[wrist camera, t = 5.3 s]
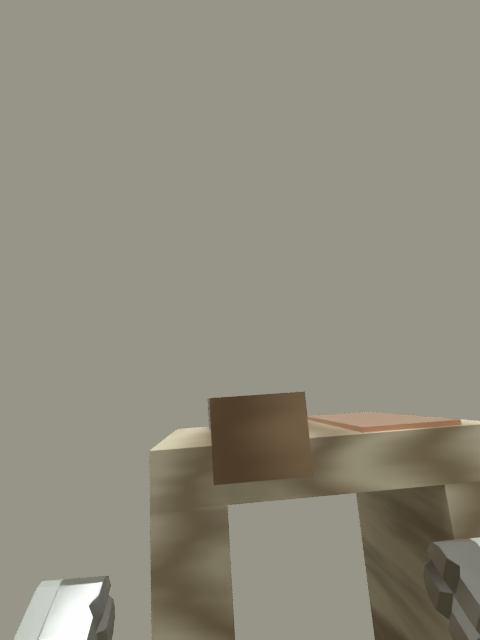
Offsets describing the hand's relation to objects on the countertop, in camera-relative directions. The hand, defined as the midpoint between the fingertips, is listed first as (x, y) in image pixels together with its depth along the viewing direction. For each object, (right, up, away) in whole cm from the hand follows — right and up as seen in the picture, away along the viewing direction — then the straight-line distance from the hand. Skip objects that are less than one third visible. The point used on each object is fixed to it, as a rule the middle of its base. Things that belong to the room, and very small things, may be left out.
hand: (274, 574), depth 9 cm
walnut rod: (-1, -1, +12) cm, 12 cm away
